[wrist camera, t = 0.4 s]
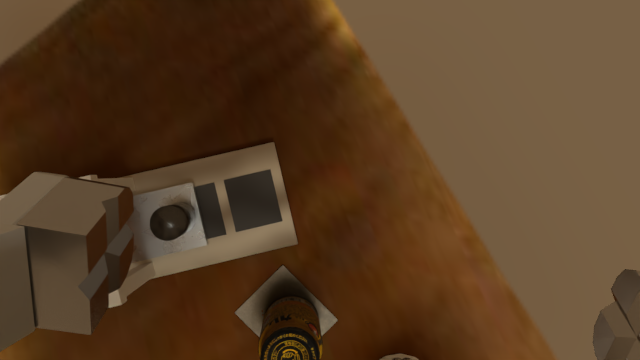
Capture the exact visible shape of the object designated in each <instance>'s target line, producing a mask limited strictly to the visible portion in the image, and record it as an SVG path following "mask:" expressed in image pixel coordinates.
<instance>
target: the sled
mask: <svg viewBox="0 0 640 360" xmlns="http://www.w3.org/2000/svg"><path fill="white" fill-rule="evenodd" d="M133 204H134V212H133V213H132V215H131V216H130V218H129V219H128V220H127V222H126V224H127V225H128V227H129V228H130V230H131V231H132V232H133V234H134V249H133V256H132V262H131V263H134V262H138V261H143V260H147V259H151V258H155V257H159V256H164V255H168V254H172V253H176V252H180V251H185V250H189V249H193V248H197V247H201V246H206V245H208V240H207V236H206V231H205V227H204V223H203V219H202V215H201V210H200V206H199V202H198V198H197V194H196V190H195V185H194V182H191V183H187V184H182V185H178V186H174V187H169V188H165V189H161V190H156V191H152V192H148V193H144V194H139V195H135V196H133Z"/></svg>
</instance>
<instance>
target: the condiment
mask: <svg viewBox="0 0 640 360" xmlns="http://www.w3.org/2000/svg"><path fill="white" fill-rule="evenodd" d="M294 293H295V294H294ZM262 310H263V312H262ZM235 314H236V315H237V316H238V317H239V318H240V319H241V320H242V321H243V322H244V323H245V324H246V325H247V326H248V327H249V328H251V329H252V331H253V332H254V333H255V334H257V335H258V336H259V337H260V338H259V345H258V353H259V356H260V360H320V359H321V356H322V352H323V342H322V335H323V334H324V333H325V332H326V331H327V330H329V328H330V327H332V326H333V325H334V324H335V323H336V322H337V319H336V318H335V317H334V315H333V314H332V313H331V312H330V311H329V310H328V309H327V308H326V307H325V306H323V304H322V303H321V302H320V301H319V300H318V299H317V298H316V297H315V296H314V295H313V294H311V293H310V291H308V290H307V289H306V288H305V287H304V286H303V285H302V284H301V283H300V282H299V281H298V280H297V279H296V277H294V276H293V275H292V274H291V273H290V272H289V271H288V270H287V269H286V268H285V267H284V266H283V265H282V266H281V267H280V268H279V269H278V270H277V271H276V272H275V273H274V274H273V275H272V276H271V277H270V278H269V279H268V280H267V281H266V282H265V283H264V284H263V285H262V286H261V287H260V288H259V289H258V290H257V291H256V292H255V293H254V294H253V295H252V296H251V297H250V298H249V299H248V300H247V301H246V302H245V303H244V304H243V305H242V306H241V307H240V308H239V309H238V310H237V311H236V312H235ZM262 314H264V316H262Z"/></svg>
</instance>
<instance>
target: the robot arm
mask: <svg viewBox="0 0 640 360" xmlns="http://www.w3.org/2000/svg"><path fill="white" fill-rule="evenodd" d="M133 212H134V204H133V193H132V191H131V189H130V187H125V186H120V185H114V184H109V183H103V182H98V181H92V180H87V179H82V178H76V177H69V176H67V175H61V174H54V173H47V172H33V173H32V174H31V175H30V176H28V177H27V178H26V179H25V180H24V181H23V182H21V183H20V184H19V185H18V186H17V187H15V188H14V189H13V190H12V191H11V192H10V193H8V194H7V195H6V196H5V197H4V198H3V199H1V200H0V351H2V350H4V349H5V348H7V347H9V346H10V345H12V344H14V343H15V342H17V341H19V340H20V339H22V338H23V337H25V336H27V335H28V334H30V333H32V332H33V331H35V328H43V329H50V330H58V331H65V332H72V333H80V334H87V335H91V334H92V333H93V331H94V330H95V328H96V326H97V325H98V323H99V322H100V320H101V318H102V317H103V315H104V313H105V312H106V310H107V309H108V307H109V294H110V293H112V292H114V291H116V290H118V289H120V287H121V286H122V284H123V282H124V280H125V279H126V277H127V274H128V271H129V268H130V265H131V262H132V256H133V249H134V234H133V232H132V231H131V230H130V228H129V227H128V225H127V224H126V222H127V220H128V219H129V218H130V216H131V215H132V213H133ZM611 290H612V293H613V296H614V299H615V302H613V303H612V304H610V305H608V306H607V307H605V308H604V309H602V310H601V311H600V314H599V316H598V319H597V321H596V324H595V326H594V335H593V346H594V351H595V355H596V357H597V360H640V271H636V270H627V269H625V270H624V271H623V272H622V273H621V274H620V275H619V276H618V277H617V278H616V281H615V282H614V284H613V286H612V288H611Z"/></svg>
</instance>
